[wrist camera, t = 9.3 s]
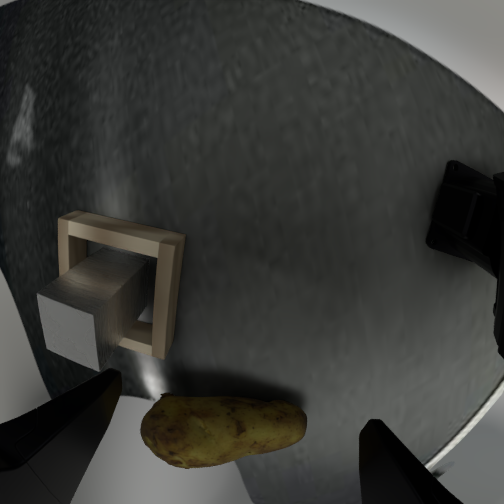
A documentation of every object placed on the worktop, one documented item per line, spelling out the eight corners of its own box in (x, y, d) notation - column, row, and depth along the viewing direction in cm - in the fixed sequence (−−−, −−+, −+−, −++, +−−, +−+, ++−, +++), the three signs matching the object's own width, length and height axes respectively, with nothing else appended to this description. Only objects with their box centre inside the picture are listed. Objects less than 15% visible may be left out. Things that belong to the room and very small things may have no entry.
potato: (269, 440, 27) (266, 504, 19) (152, 395, 25) (125, 458, 18) (315, 396, 24) (324, 470, 16) (179, 339, 23) (146, 412, 15)
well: (186, 234, 20) (174, 246, 17) (173, 340, 23) (164, 359, 20) (77, 210, 20) (58, 217, 17) (79, 310, 23) (64, 324, 20)
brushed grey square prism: (149, 259, 21) (93, 315, 13) (146, 306, 22) (99, 371, 14) (102, 247, 21) (36, 293, 13) (102, 293, 22) (47, 348, 14)
